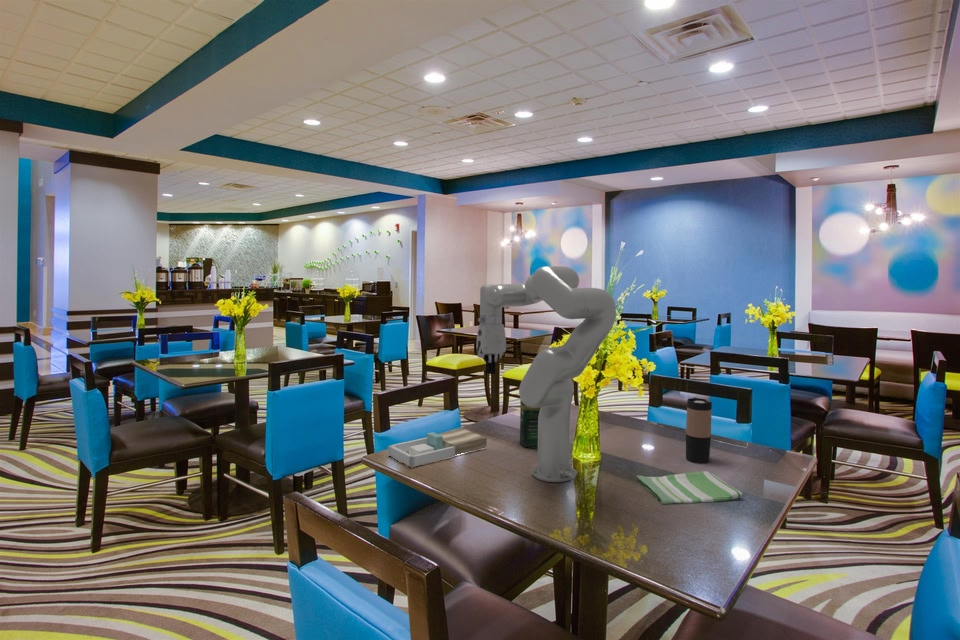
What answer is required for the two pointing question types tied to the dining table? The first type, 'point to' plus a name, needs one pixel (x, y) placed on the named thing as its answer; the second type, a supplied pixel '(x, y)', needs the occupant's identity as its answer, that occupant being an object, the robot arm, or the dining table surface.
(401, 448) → the tray
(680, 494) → the dish towel
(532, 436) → the coffee jar
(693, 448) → the travel mug
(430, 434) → the teal tile
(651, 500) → the dining table surface
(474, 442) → the birch board
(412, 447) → the white tile
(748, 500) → the dining table surface
